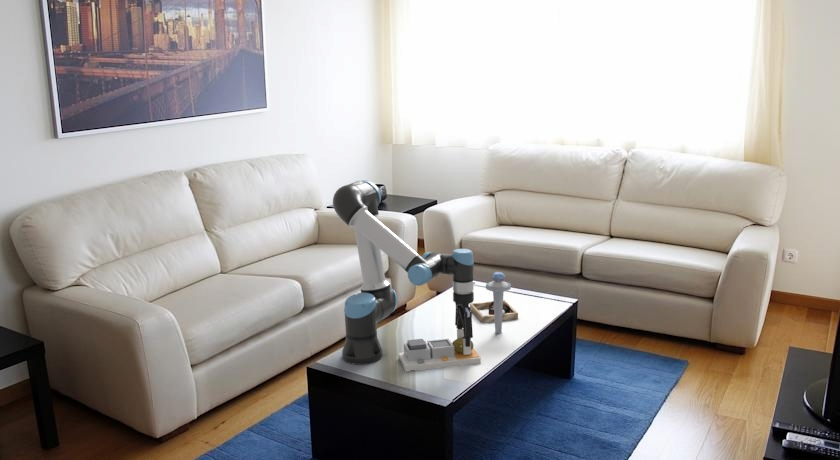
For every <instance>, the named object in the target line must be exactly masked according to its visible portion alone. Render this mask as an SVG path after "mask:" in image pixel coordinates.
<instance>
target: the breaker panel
mask: <svg viewBox="0 0 840 460" xmlns="http://www.w3.org/2000/svg"><path fill="white" fill-rule="evenodd" d="M424 341H425V343H426V349H417V350H410V349H409V348H408V342H403V352H398V360H400V361H399V362H400V364H401V365H402V368H403V369H404V368H405V369H404V371H405V370H406V371H405V372H411V371H410V370H415V371H421V370H422V369H424V370H431V369H441V368H448V367H458V366H459V367H460V366H468V365H476V364H481V363H482V358H481V357H480V355H479V353H477V351H476V350H475V348H474V347H473V349H472V350H471V354H467V355H464V354H463V353H458V352H456V351H454V346H453V344H452V343H453V342H451V340H450V338H441V339H432V340H427V341H426V340H424ZM440 341H447V343H448V344H449V345H450V346H445V347H436V348H434V347H433V345H432V344H431V342H440ZM461 347H462V346H461ZM420 369H421V370H420Z"/></svg>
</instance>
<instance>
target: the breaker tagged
mask: <svg viewBox="0 0 840 460" xmlns="http://www.w3.org/2000/svg"><path fill="white" fill-rule="evenodd" d="M431 344H432V345H433V347H434V348H436V347H445V346H450V345H449V344H448V343H447V341H440V342H431Z"/></svg>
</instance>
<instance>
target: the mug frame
mask: <svg viewBox="0 0 840 460" xmlns="http://www.w3.org/2000/svg"><path fill="white" fill-rule="evenodd" d="M492 301H493V300H492ZM492 301H481V302H474V303H473V302H472V303H470V304H469V307H470V309H471V310H470V311H472V314H473V315H475V317H477V319H478V320H479V321H480V322H481V323H490V322H495V318H494V315H489V314H486V315H483V314H482V313H481V312H480V309H482V310H483V309H488V308H489V307H488V306H489V304H490V303H491V302H492ZM503 301H504V302H506V303H507V304H508V305H509V307H510V309H511V313H502V321H508V320H516V319H517V320H518V319H519V312H518V311H517V310H516V309H514V308H513V307H512V306H511V305H510V304H509V303H508V302H507V301H506V300H505V299H503ZM491 307H492V308H494V305H492V306H491Z"/></svg>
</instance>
